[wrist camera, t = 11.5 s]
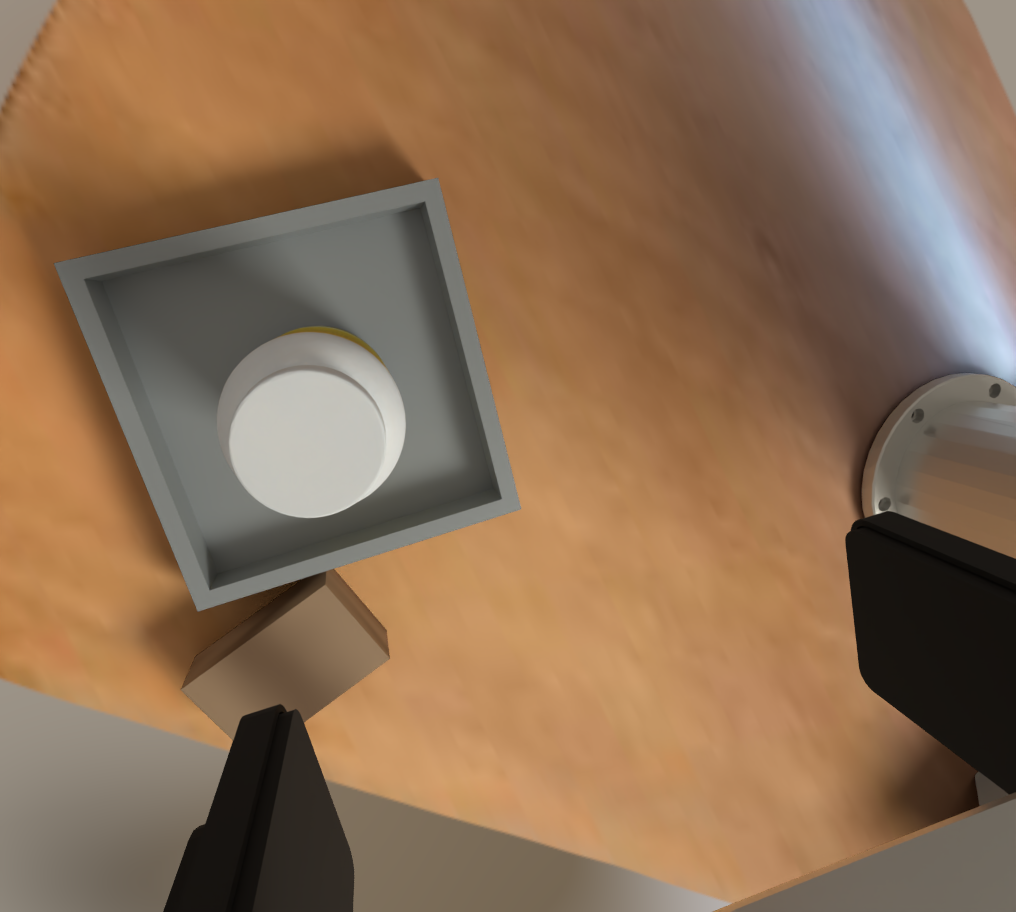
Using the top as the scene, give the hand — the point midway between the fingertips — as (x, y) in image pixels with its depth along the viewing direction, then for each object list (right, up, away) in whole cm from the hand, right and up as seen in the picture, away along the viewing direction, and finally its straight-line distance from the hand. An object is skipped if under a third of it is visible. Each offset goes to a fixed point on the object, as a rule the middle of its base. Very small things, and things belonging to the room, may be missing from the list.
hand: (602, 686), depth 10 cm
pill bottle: (-10, +7, +21) cm, 24 cm away
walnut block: (-13, -6, +23) cm, 27 cm away
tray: (-11, +7, +21) cm, 24 cm away
